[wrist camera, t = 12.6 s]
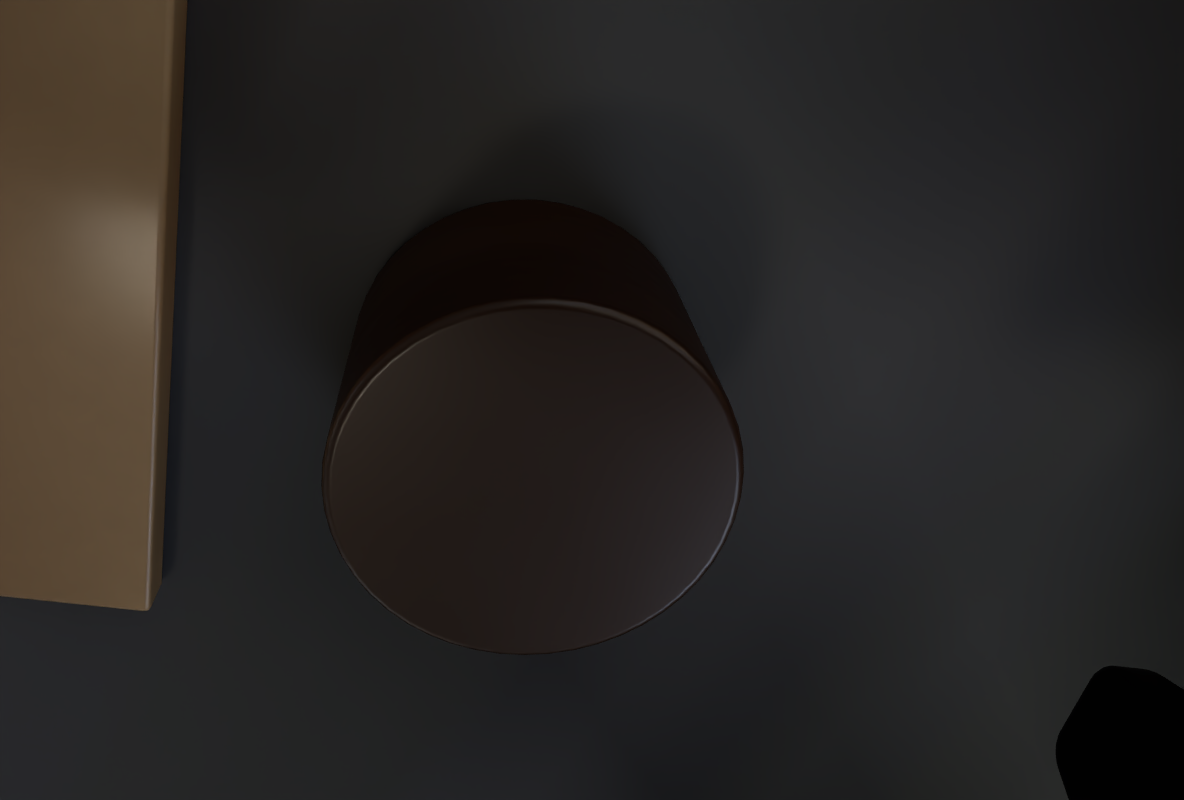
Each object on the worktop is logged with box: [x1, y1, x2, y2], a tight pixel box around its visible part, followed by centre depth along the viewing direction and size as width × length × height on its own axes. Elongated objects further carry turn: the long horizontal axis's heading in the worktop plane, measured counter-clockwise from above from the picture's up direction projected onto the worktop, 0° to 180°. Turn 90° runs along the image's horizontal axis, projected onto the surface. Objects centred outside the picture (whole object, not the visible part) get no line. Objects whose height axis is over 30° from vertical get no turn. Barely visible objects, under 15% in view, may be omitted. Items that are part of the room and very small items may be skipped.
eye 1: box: [321, 200, 744, 655], centre depth 11 cm, size 4×4×3 cm
